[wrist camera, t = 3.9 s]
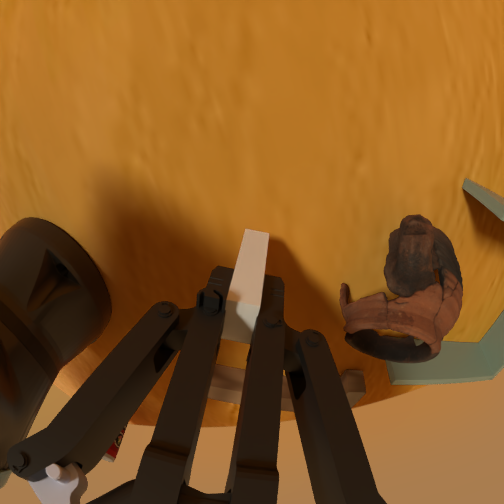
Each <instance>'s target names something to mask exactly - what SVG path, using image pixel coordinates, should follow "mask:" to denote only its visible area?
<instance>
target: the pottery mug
mask: <svg viewBox="0 0 504 504" xmlns="http://www.w3.org/2000/svg"><path fill="white" fill-rule="evenodd" d="M436 269H438V274H439V280H440V284H439V283H438V282H437V281H435V273H434V270H436ZM384 275H385V278H386V281H387V286H388V288H389V290H390V291H391V292H392V293H394V294H397V295H399V297H398V298H396V299H393V300H390V301H388V300H387V297H386V294H385V293H384V292H380V293H377V294H375V295H372V296H369V297H364V298H361V299H359V300H358V301H356V302H352V303H349V304H348V298H349V289H348V287H347V285H346V284H344V283H342V284H341V289H340V305H341V309H342V313H343V316H344V318H345V321H346V322H347V323H346V325H345V326H344V331H346V332H347V333H346V336H345V341H346V342H347V343H348V344H349V345H350V346H352V347H353V348H355V349H357V350H358V351H360V352H362V353H365V354H367V355H370V356H373V357H376V358H378V359H383V360H387V361H391V362H397V363H421V362H426V361H429V360H431V359H433V358H435V357H436V356H437V355H438V354H439V353H440V350H441V341H442V340H443V337H444V336H445V335H447V334H448V332H449V331H450V330H451V329H452V328H453V326H454V324H455V323H456V321H457V319H458V317H459V314H460V310H461V307H462V296H463V285H462V277H461V272H460V266H459V263H458V261H457V258H456V256H455V253H454V249H453V246H452V243H451V241H450V240H449V238H448V237H447V236H446V235H445V234H444V233H443V232H442V231H441V230H439V229H437V228H435V227H433V226H432V224H431V222H430V221H429V220H428V219H426V218H424V217H423V216H421V215H408V216H406V217H405V218H404V219H402V221H401V224H400V228H398V229H396V230H394V231H393V232H392V233H390V238H389V254H388V255H387V258H386V265H385V267H384ZM372 329H391V330H393V331H397V332H402V333H405V334H408V335H410V336H408V337H406V338H400V339H396V338H393V337H390V336H379V334H378V333H377V332H376V331H374V330H372ZM414 337H416V338H419V339H421V340H423V341H424V342H423V343H422V344H420V345H418V346H416V344H415V341H414Z"/></svg>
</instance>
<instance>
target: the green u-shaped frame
mask: <svg viewBox="0 0 504 504" xmlns="http://www.w3.org/2000/svg"><path fill="white" fill-rule="evenodd" d="M462 188H463V189H464V190H466V191H467V192H468V193H469V194H471V195H472V196H473V197H475V198H476V199H477V200H478V201H480V202H481V203H482V204H483V205H484V206H486V207H487V208H488V209H489V210H490V211H492V212H493V213H494V214H495V215H496V216H497V217H498V218H500V219H501V220H502V221H504V198H503V197H501V196H499V195H498V194H496V193H494V192H492V191H490V190H489V189H487V188H485V187H483V186H481V185H479V184H477V183H475V182H473V181H471V180H469V179H467V178H466V179H465V181H464V184H463V187H462ZM393 338H396V339H400V338H398V337H393ZM414 341H415V344H416V346H418V345H420V344H422V343H423V342H424V341H423V340H421V339H414ZM385 361H386V365H387V370H388V374H389V379H390V383H391V385H428V384H448V383H463V382H474V381H484V380H492V379H493V378H494V377H495V376H496V375H497V374H498V373H499V372H500V371H501V370H502V369H503V368H504V310H503V312H502V313H501V315H500V316H499V317H498V319H497V320H496V321H495V323H494V324H493V325H492V327H491V328H490V329H489V331H488V332H487V333H486V335H485V336H484V337H483V338H482V339H481V341H480V342H479V343H468V342H449V341H441V350H440V353H439V354H438V355H437V356H436V357H435V358H433V359H431V360H429V361H426V362H421V363H397V362H391V361H387V360H385Z"/></svg>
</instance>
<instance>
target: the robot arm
mask: <svg viewBox="0 0 504 504" xmlns="http://www.w3.org/2000/svg"><path fill="white" fill-rule="evenodd" d="M268 240H269V233H265V232H260V231H255V230H250V229H245V233H244V237H243V240H242V244H241V247H240V251H239V255H238V259H237V262H236V266H235V269H231V268H226V267H221V266H217V267H216V268H215V269H214V270H212V273H211V276H210V278H209V281H208V284H207V286H206V288H203V289H202V290H200V291H199V292H198V293H197V304H196V307H194V308H190V309H178V307H177V306H176V305H175V304H173V303H171V302H167V301H166V302H159V303H156V304H155V305H154V306H152V308H151V309H150V310H149V311H148V312H147V313H146V314H145V315H144V316H143V317H142V318H141V319H140V321H139V322H138V323H137V324H136V325H135V326H134V327H133V328H132V329H131V330H130V332H129V333H128V334H127V335H126V336H125V337H124V338H123V339H122V340H121V341H120V343H119V344H118V345H117V346H116V347H115V348H114V349H113V350H112V352H111V353H110V354H109V355H108V356H107V357H106V358H105V359H104V361H103V362H102V363H101V364H100V365H99V366H98V367H97V369H96V370H95V371H94V372H93V373H92V374H91V375H90V377H89V378H88V379H87V380H86V381H85V382H84V384H83V385H82V386H81V387H80V388H79V389H78V391H77V392H76V393H75V394H74V395H73V396H72V398H71V399H70V400H69V401H68V403H67V404H66V405H65V406H64V407H63V408H62V410H61V411H60V412H59V413H58V414H57V416H56V417H55V418H54V419H53V421H52V422H51V423H50V424H49V426H48V427H47V428H45V429H43V430H41V431H39V432H38V433H36V434H34V435H32V436H30V437H28V438H26V437H27V435H28V433H29V430H30V428H31V426H32V424H33V422H34V420H35V417H36V415H37V413H38V411H39V409H40V407H41V405H42V403H43V401H44V399H45V397H46V395H47V393H48V391H49V389H50V387H51V386H52V384H53V382H54V380H55V378H56V377H57V375H58V373H59V371H60V370H61V369H62V367H64V366H65V365H66V364H67V363H69V362H70V361H71V360H72V359H73V358H75V357H76V356H77V355H78V354H79V353H81V352H82V351H83V350H84V349H85V348H86V347H87V346H89V345H90V344H92V343H93V342H95V341H96V340H97V339H98V338H99V337H100V335H101V334H102V332H103V330H104V329H105V327H106V325H107V324H108V322H109V320H110V317H111V302H110V297H109V294H108V291H107V288H106V286H105V283H104V281H103V279H102V277H101V275H100V274H99V272H98V270H97V269H96V267H95V265H94V264H93V263H92V261H91V260H90V258H89V257H88V256H87V254H86V253H85V252H84V251H83V250H82V249H81V247H80V246H79V245H78V244H77V243H76V242H75V241H74V240H73V239H72V238H71V237H70V236H68V235H67V234H66V233H65V232H64V231H62V230H61V229H59V228H58V227H57V226H55V225H53V224H51V223H50V222H47V221H45V220H43V219H39V218H33V217H29V218H24V219H22V220H20V221H19V222H17V223H16V224H15V225H13V226H12V227H11V228H10V229H8V230H7V231H6V232H5V233H4V235H3V236H2V237H1V239H0V488H2V487H3V486H4V485H5V484H6V483H7V480H8V478H9V476H10V474H11V472H13V473H14V474H16V475H17V476H19V477H21V478H23V479H25V480H27V481H28V482H29V483H30V485H31V487H32V489H33V490H34V492H35V493H36V495H37V496H38V498H39V500H40V501H41V503H42V504H80V498H81V496H82V495H83V493H84V492H85V491H86V490H87V486H88V482H87V478H86V476H85V475H86V474H87V473H88V472H89V471H91V470H92V469H93V468H94V467H95V466H96V465H97V464H98V463H99V461H100V460H101V459H102V458H103V456H104V455H105V453H106V452H107V451H108V449H109V448H110V446H111V445H112V444H113V442H114V441H115V439H116V438H117V437H118V435H119V434H120V432H121V431H122V430H123V428H124V427H125V425H126V424H127V423H128V421H129V420H130V418H131V417H132V416H133V414H134V413H135V411H136V410H137V409H138V407H139V406H140V404H141V403H142V402H143V400H144V399H145V397H146V396H147V395H148V393H149V392H150V390H151V389H152V388H153V386H154V385H155V383H156V382H157V381H158V379H159V378H160V376H161V375H162V374H163V372H164V371H165V369H166V368H167V367H168V365H169V364H170V363H171V361H172V360H173V358H174V357H175V356H176V354H177V353H178V351H179V350H181V352H180V355H179V357H178V360H177V363H176V366H175V369H174V372H173V375H172V378H171V381H170V384H169V387H168V390H167V393H166V396H165V399H164V402H163V405H162V408H161V411H160V414H159V417H158V421H157V424H156V427H155V430H154V433H153V436H152V440H151V442H150V444H148V445H147V447H146V449H145V451H144V453H143V456H142V459H141V463H140V466H139V469H138V473H137V476H136V479H134V480H131V481H128V482H126V483H124V484H122V485H121V486H118V487H117V488H115V489H113V490H111V491H109V492H108V493H106V494H104V495H102V496H100V497H98V498H96V499H94V500H92V501H90V502H88V503H86V504H277V494H278V484H279V472H278V470H277V466H276V465H277V453H278V441H279V428H280V415H281V400H282V384H283V370H285V374H286V379H287V383H288V387H289V391H290V396H291V400H292V404H293V408H294V413H295V417H296V421H297V425H298V430H299V434H300V438H301V442H302V447H303V451H304V455H305V460H306V464H307V468H308V473H309V477H310V481H311V486H312V490H313V494H314V499H315V502H316V504H387V503H386V502H385V501H384V500H383V498H382V497H381V496H380V495H379V493H378V491H377V488H376V485H375V481H374V478H373V475H372V472H371V468H370V465H369V462H368V459H367V455H366V452H365V449H364V447H363V443H362V440H361V437H360V434H359V431H358V428H357V425H356V422H355V419H354V416H353V413H352V410H351V407H350V404H349V401H348V399H347V396H346V393H345V390H344V387H343V384H342V382H341V379H340V376H339V373H338V371H337V368H336V365H335V362H334V360H333V357H332V354H331V351H330V349H329V346H328V343H327V341H326V339H325V337H324V335H322V334H321V333H320V332H318V331H316V330H310V329H309V330H304V331H303V332H301V333H300V332H298V331H296V330H294V329H292V328H290V327H289V326H288V325H287V324H286V323H285V321H284V318H283V311H284V283H283V281H282V279H281V278H280V277H275V276H269V275H264V273H265V265H266V257H267V248H268ZM221 338H222V339H227V340H232V341H237V342H242V343H247V344H250V349H249V352H248V356H247V360H246V361H247V365H246V371H245V378H244V384H243V390H242V396H241V403H240V409H239V415H238V421H237V427H236V434H235V439H234V445H233V451H232V457H231V463H230V469H229V475H228V479H227V482H226V487H225V493H218V494H206V493H203V492H200V491H198V490H196V489H194V488H192V487H189V486H188V485H189V480H190V475H191V468H192V463H193V459H194V454H195V450H196V446H197V441H198V437H199V432H200V428H201V424H202V419H203V415H204V411H205V407H206V402H207V398H208V394H209V389H210V385H211V381H212V377H213V373H214V368H215V364H216V360H217V356H218V351H219V347H220V341H221Z"/></svg>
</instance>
